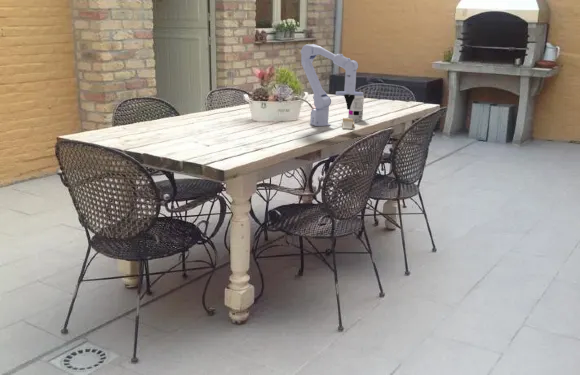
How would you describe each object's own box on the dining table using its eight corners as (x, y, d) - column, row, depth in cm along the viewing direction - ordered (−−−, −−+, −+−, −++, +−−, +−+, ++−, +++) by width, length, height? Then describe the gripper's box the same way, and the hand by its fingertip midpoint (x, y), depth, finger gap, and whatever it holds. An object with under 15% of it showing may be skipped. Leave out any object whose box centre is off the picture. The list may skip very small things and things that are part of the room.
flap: (342, 118, 336) (341, 125, 332) (353, 118, 336) (352, 125, 331) (342, 122, 338) (341, 129, 334) (353, 123, 338) (352, 130, 333)
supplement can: (346, 119, 362) (347, 93, 358) (351, 117, 369) (353, 92, 365) (359, 121, 359) (360, 95, 355) (364, 119, 366) (366, 93, 362)
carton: (342, 124, 345) (343, 121, 345) (354, 125, 344) (354, 122, 344) (341, 127, 339) (342, 123, 338) (353, 127, 338) (353, 124, 337)
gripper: (362, 83, 334) (360, 108, 338) (335, 82, 333) (334, 107, 337) (364, 84, 327) (362, 110, 331) (337, 83, 327) (335, 109, 330)
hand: (348, 109), depth 334 cm, fingers closed
